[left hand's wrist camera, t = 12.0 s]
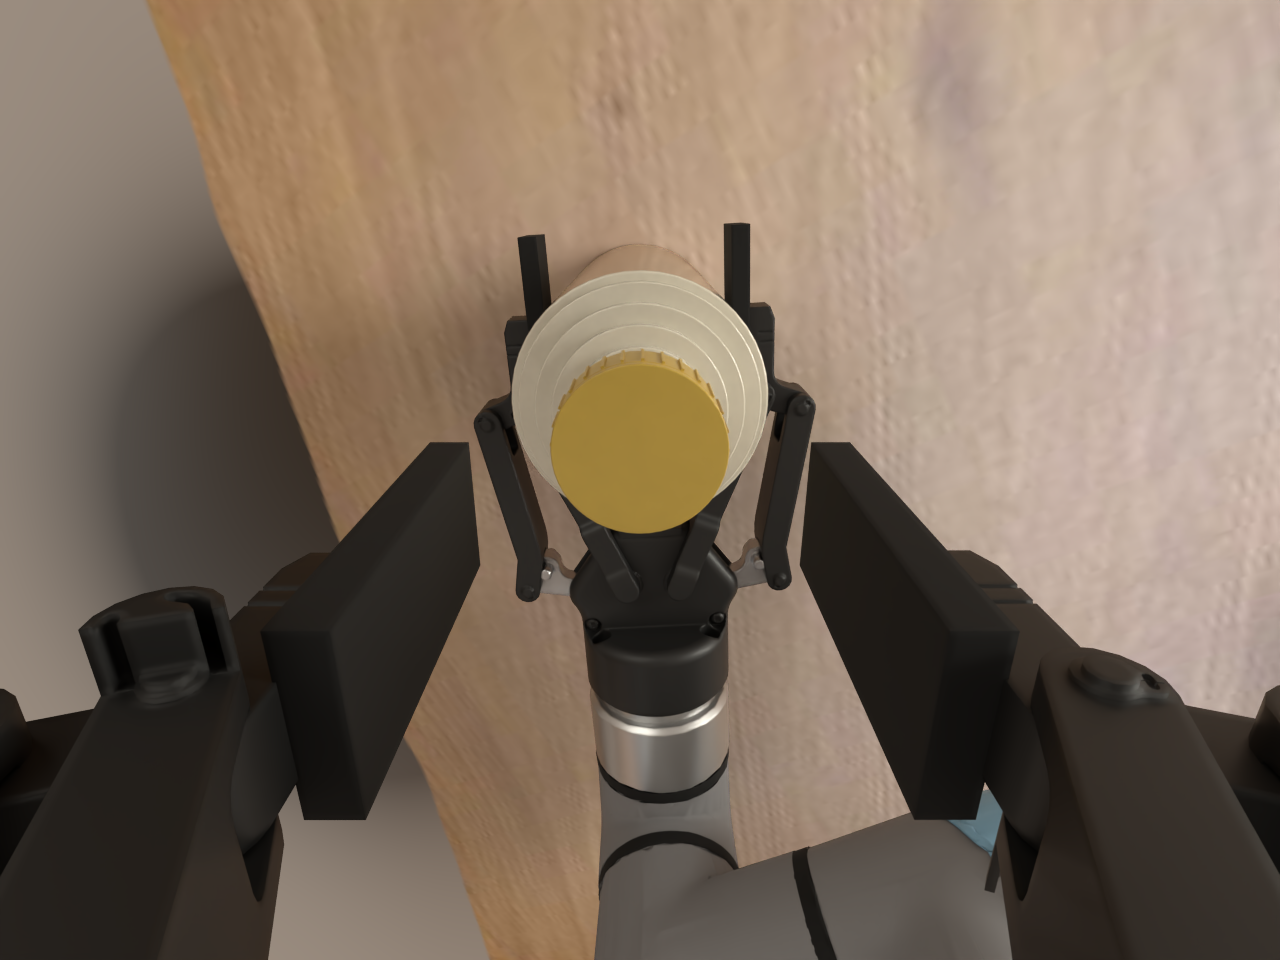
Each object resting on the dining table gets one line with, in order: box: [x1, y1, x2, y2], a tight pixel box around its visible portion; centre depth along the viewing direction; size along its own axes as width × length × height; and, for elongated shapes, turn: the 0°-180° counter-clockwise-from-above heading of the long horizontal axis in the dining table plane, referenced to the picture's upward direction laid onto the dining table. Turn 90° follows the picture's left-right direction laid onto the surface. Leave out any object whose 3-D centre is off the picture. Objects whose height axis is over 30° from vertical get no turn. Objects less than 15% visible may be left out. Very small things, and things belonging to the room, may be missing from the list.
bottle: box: [512, 244, 768, 498], centre depth 27 cm, size 8×8×21 cm
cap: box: [550, 349, 730, 534], centre depth 18 cm, size 4×4×2 cm
